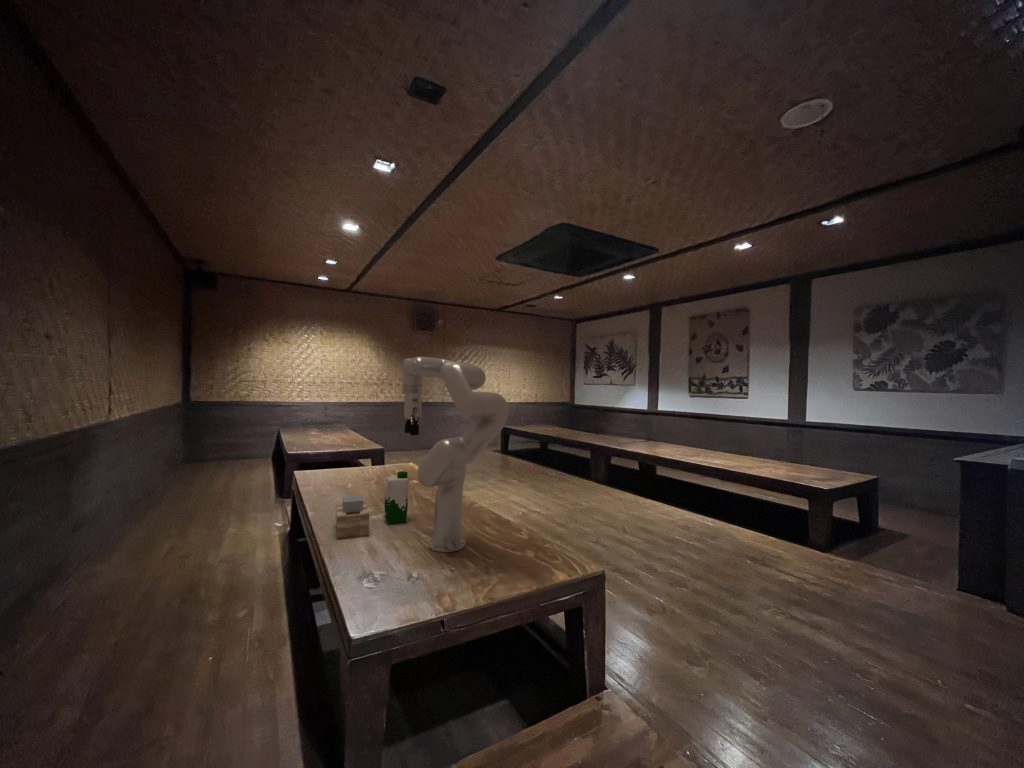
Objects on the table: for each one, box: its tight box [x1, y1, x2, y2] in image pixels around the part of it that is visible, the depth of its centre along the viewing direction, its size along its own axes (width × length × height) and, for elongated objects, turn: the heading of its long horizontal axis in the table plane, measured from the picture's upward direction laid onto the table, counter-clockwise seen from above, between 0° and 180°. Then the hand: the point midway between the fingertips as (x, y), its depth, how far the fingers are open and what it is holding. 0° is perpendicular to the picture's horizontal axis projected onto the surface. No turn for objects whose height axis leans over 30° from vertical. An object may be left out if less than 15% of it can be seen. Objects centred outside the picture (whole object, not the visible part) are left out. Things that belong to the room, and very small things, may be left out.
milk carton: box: [384, 470, 409, 526], centre depth 163 cm, size 9×9×20 cm
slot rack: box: [335, 502, 370, 541], centre depth 151 cm, size 16×11×8 cm
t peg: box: [342, 495, 364, 515], centre depth 151 cm, size 7×7×10 cm
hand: (411, 434), depth 154 cm, fingers open, 9 cm apart
